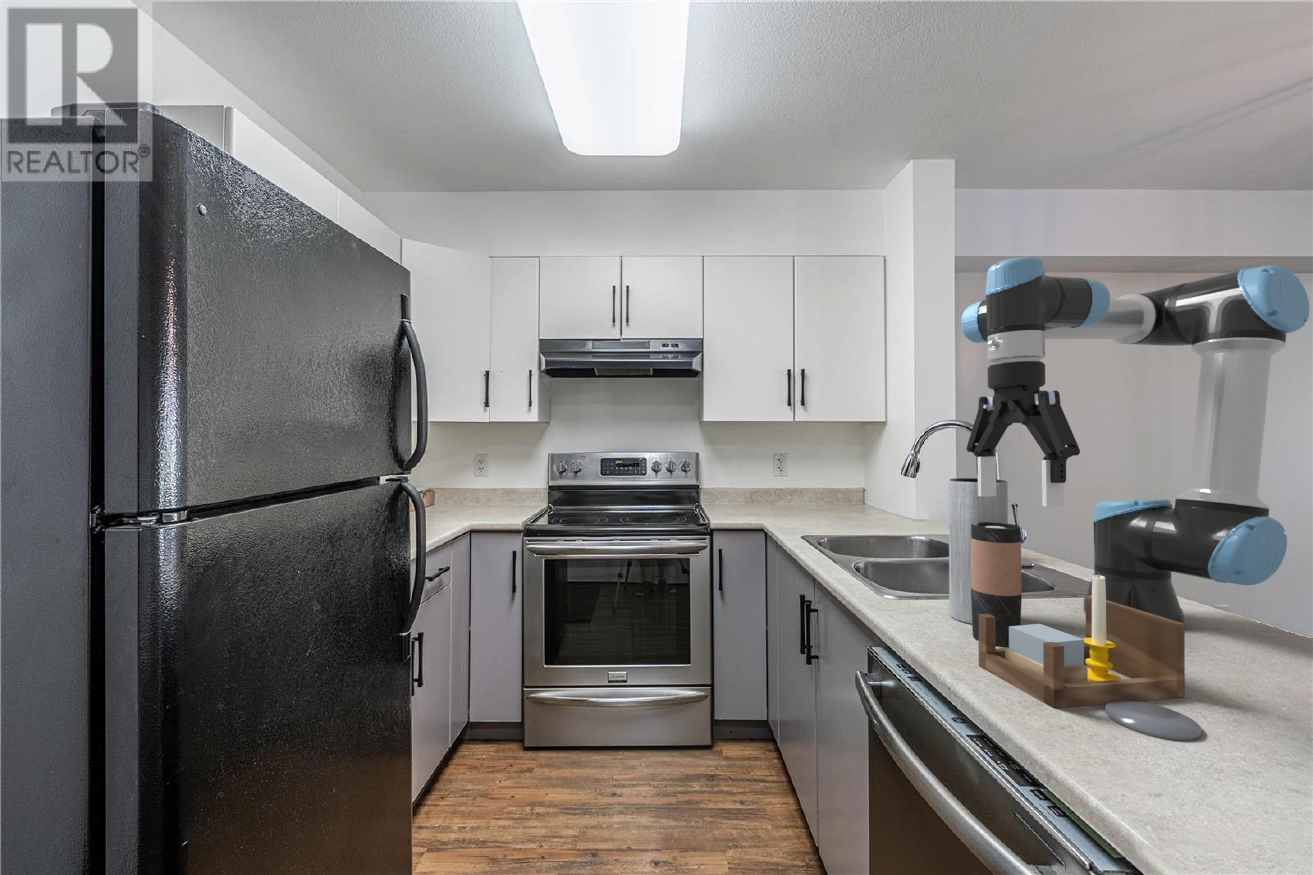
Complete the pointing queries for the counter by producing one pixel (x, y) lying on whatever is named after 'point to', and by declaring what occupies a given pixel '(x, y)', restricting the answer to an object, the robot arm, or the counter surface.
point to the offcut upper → (1032, 637)
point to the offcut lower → (1070, 673)
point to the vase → (968, 536)
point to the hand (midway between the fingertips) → (1017, 500)
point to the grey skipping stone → (1153, 720)
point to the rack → (1141, 653)
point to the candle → (1099, 635)
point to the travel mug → (996, 577)
